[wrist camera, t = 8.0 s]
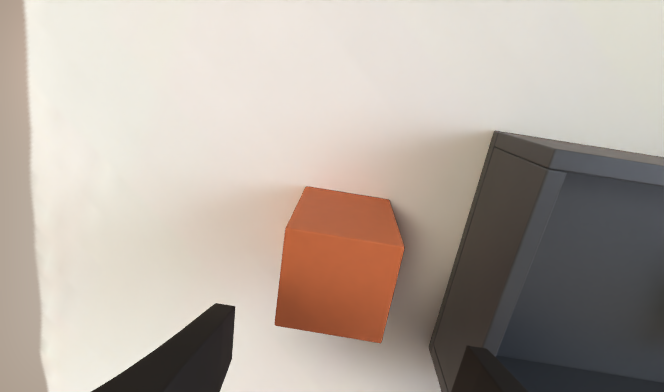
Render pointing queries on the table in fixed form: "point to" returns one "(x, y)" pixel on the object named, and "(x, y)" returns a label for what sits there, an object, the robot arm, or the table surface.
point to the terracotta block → (339, 265)
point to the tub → (560, 269)
